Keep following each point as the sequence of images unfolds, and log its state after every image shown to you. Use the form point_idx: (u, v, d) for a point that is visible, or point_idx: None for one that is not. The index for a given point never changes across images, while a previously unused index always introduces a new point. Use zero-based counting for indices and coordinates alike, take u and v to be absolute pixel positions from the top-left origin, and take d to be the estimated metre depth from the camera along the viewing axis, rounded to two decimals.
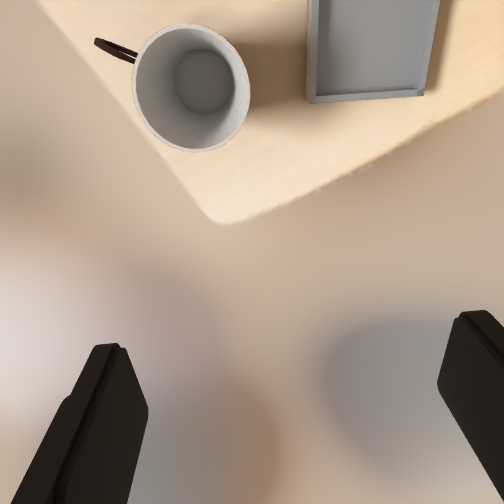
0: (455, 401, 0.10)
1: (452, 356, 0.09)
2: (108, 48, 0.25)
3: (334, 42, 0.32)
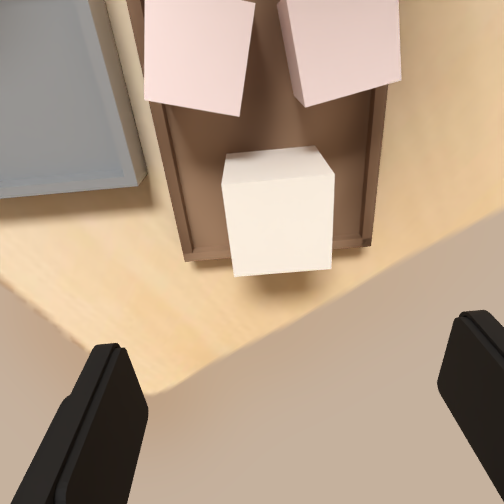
0: (455, 401, 0.10)
1: (452, 356, 0.09)
2: None
3: None
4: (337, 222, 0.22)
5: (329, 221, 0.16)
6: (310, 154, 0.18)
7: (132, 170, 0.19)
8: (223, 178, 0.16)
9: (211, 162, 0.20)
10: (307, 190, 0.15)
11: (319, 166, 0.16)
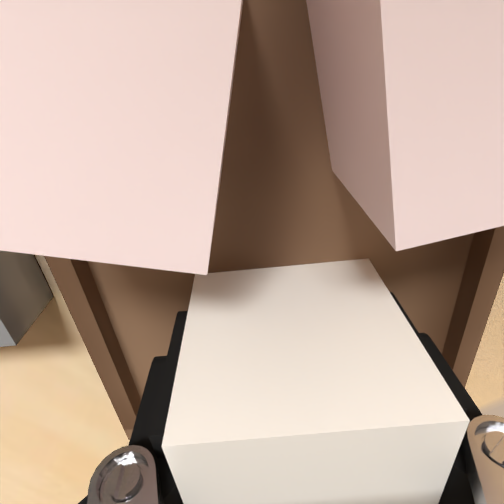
0: None
1: None
2: None
3: None
4: None
5: (435, 492, 0.07)
6: (368, 293, 0.08)
7: None
8: (172, 402, 0.06)
9: (166, 288, 0.10)
10: (390, 449, 0.06)
11: (410, 363, 0.07)
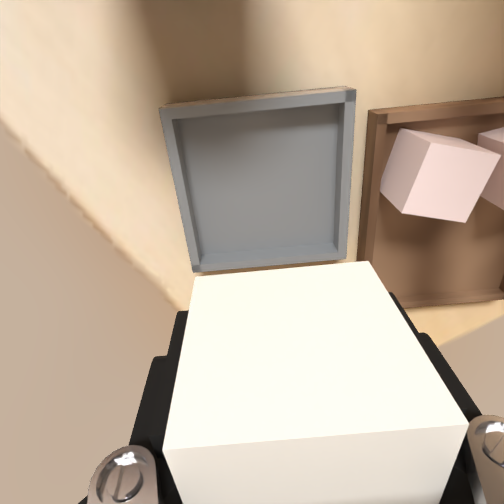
0: None
1: None
2: None
3: (250, 140, 0.22)
4: (484, 280, 0.27)
5: (434, 494, 0.07)
6: (368, 296, 0.09)
7: (345, 248, 0.24)
8: (173, 405, 0.06)
9: (397, 238, 0.25)
10: (390, 453, 0.06)
11: (410, 366, 0.07)
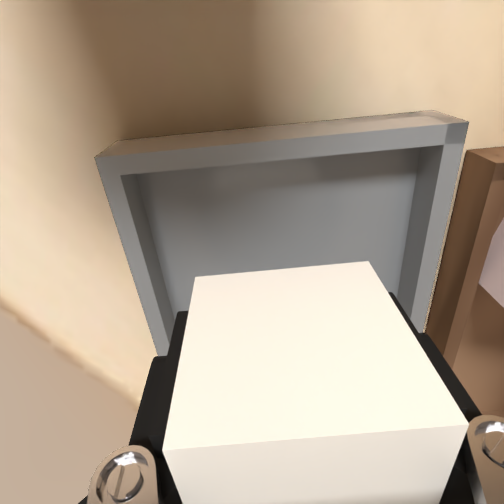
0: None
1: None
2: None
3: (263, 201, 0.13)
4: None
5: (434, 495, 0.07)
6: (368, 296, 0.09)
7: None
8: (173, 406, 0.06)
9: (491, 341, 0.16)
10: (390, 453, 0.06)
11: (410, 366, 0.07)
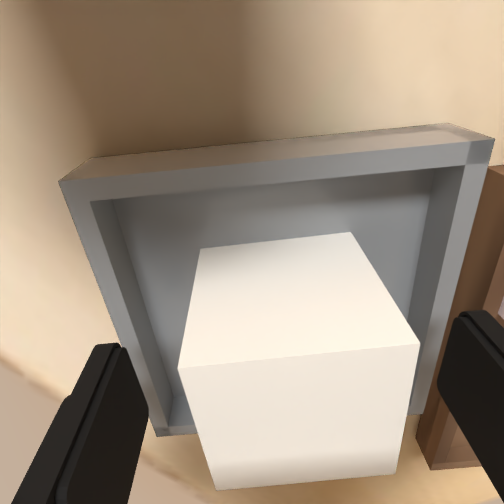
0: (454, 401, 0.10)
1: (451, 356, 0.10)
2: None
3: (257, 225, 0.11)
4: None
5: (400, 413, 0.08)
6: (348, 258, 0.10)
7: (424, 400, 0.14)
8: (185, 340, 0.08)
9: None
10: (360, 371, 0.07)
11: (378, 307, 0.08)
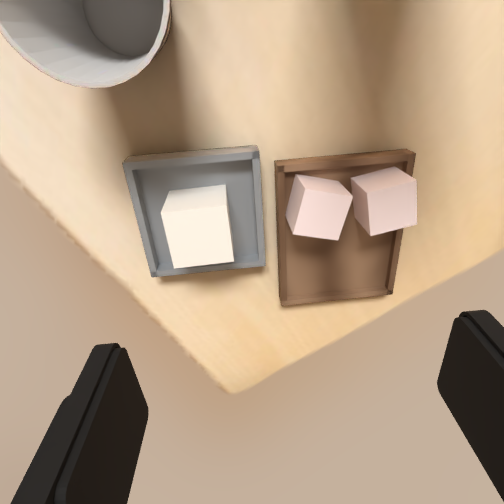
0: (455, 401, 0.10)
1: (452, 356, 0.10)
2: None
3: (190, 181, 0.30)
4: (372, 280, 0.37)
5: (228, 232, 0.27)
6: (219, 191, 0.29)
7: (264, 258, 0.33)
8: (162, 208, 0.27)
9: (304, 250, 0.34)
10: (212, 215, 0.26)
11: (220, 200, 0.27)
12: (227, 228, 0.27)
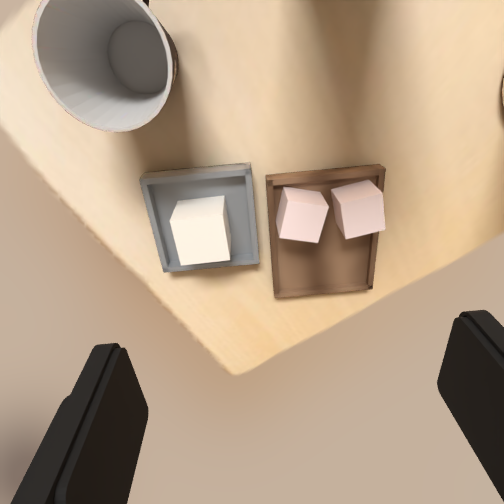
0: (455, 401, 0.10)
1: (452, 356, 0.09)
2: None
3: (195, 193, 0.36)
4: (355, 277, 0.42)
5: (224, 236, 0.33)
6: (218, 201, 0.35)
7: (258, 256, 0.39)
8: (171, 217, 0.33)
9: (293, 250, 0.40)
10: (211, 222, 0.32)
11: (218, 210, 0.33)
12: (223, 233, 0.33)
